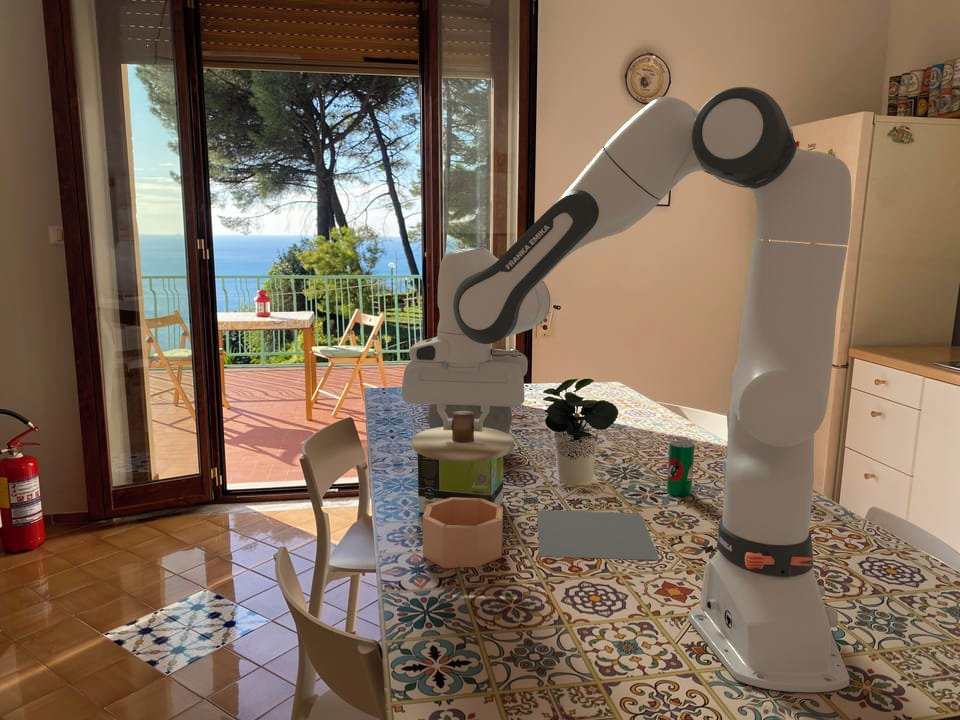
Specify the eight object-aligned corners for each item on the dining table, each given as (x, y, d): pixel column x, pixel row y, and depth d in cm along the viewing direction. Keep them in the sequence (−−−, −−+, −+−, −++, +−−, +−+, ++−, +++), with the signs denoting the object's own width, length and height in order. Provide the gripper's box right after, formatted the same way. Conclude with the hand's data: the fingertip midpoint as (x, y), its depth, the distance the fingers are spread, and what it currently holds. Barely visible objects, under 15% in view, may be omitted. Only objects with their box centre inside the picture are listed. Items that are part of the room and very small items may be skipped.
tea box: (503, 503, 143) (505, 432, 140) (491, 522, 133) (492, 447, 131) (433, 495, 147) (433, 426, 144) (416, 513, 137) (416, 440, 135)
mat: (659, 562, 118) (660, 560, 117) (539, 558, 119) (539, 556, 119) (640, 515, 137) (640, 513, 137) (537, 512, 138) (537, 510, 138)
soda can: (692, 499, 145) (696, 443, 143) (667, 497, 146) (670, 442, 144) (690, 491, 150) (693, 436, 148) (665, 489, 151) (668, 435, 149)
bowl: (524, 460, 170) (525, 399, 167) (443, 470, 162) (443, 406, 160) (491, 437, 189) (492, 382, 186) (418, 445, 181) (417, 388, 179)
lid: (513, 463, 109) (514, 429, 108) (404, 459, 110) (404, 425, 109) (514, 432, 126) (514, 402, 125) (419, 429, 127) (419, 399, 126)
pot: (500, 569, 114) (501, 529, 113) (419, 567, 115) (419, 526, 114) (502, 535, 127) (503, 498, 126) (430, 533, 128) (429, 496, 127)
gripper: (527, 346, 118) (525, 427, 120) (406, 343, 119) (406, 423, 121) (528, 353, 111) (525, 437, 114) (399, 349, 113) (399, 433, 115)
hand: (463, 430), depth 118 cm, fingers closed on lid, 4 cm apart
